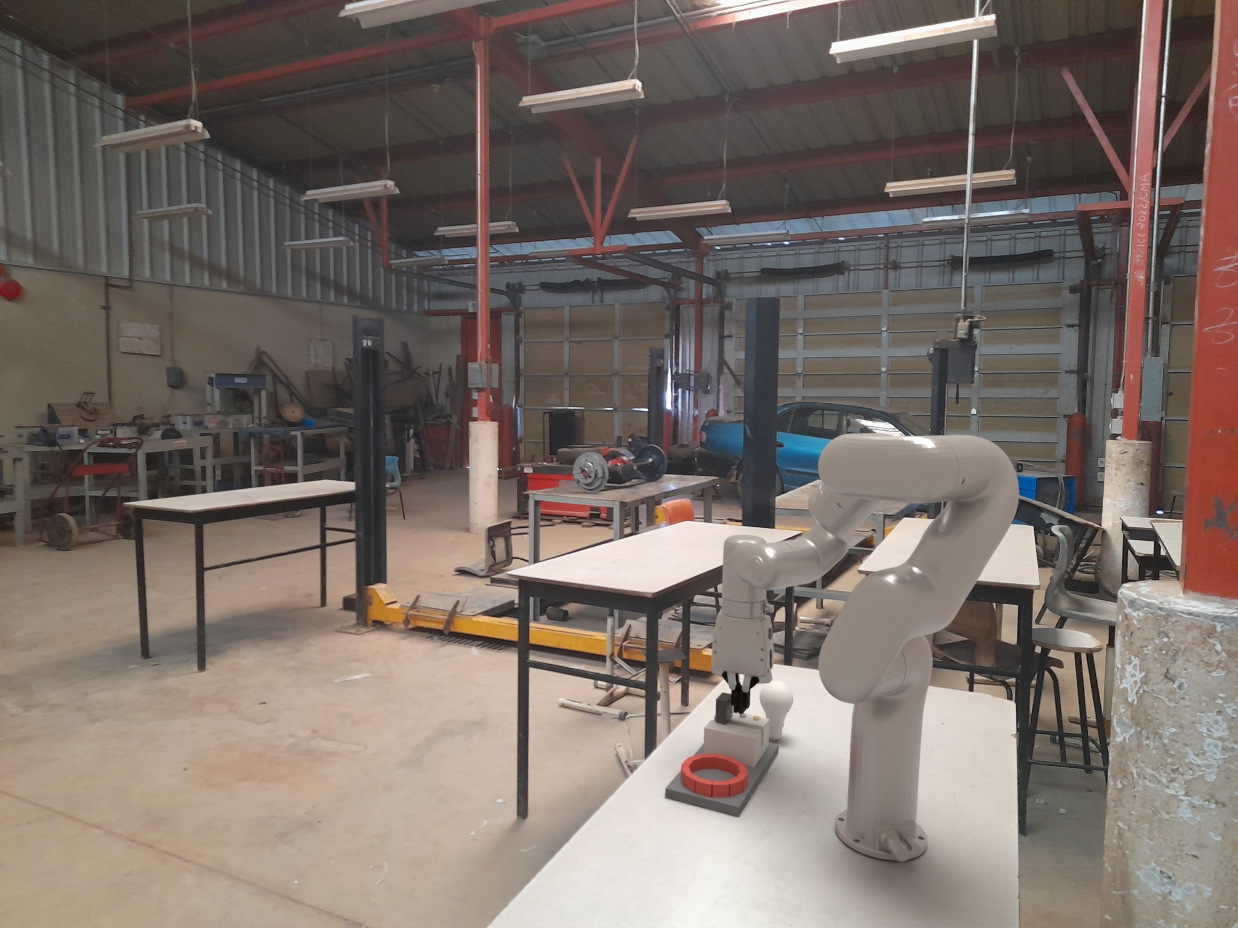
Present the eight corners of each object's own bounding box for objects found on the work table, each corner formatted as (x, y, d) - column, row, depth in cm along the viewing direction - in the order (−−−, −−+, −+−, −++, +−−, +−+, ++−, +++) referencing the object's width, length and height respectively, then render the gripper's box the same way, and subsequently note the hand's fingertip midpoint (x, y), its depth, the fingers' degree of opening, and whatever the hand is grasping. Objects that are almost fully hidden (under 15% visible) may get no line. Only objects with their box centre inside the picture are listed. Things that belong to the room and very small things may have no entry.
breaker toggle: (725, 742, 135) (727, 701, 135) (714, 739, 136) (715, 698, 136) (731, 734, 139) (733, 694, 138) (721, 732, 139) (722, 692, 139)
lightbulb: (789, 733, 148) (791, 677, 147) (793, 747, 141) (795, 689, 140) (756, 731, 148) (758, 675, 147) (759, 745, 142) (761, 687, 141)
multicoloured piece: (738, 816, 118) (740, 772, 117) (665, 797, 123) (666, 755, 122) (778, 752, 139) (780, 715, 139) (714, 738, 145) (715, 702, 144)
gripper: (792, 608, 134) (788, 711, 136) (709, 597, 141) (706, 695, 142) (780, 618, 128) (776, 727, 129) (695, 606, 134) (692, 710, 136)
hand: (740, 710), depth 136 cm, fingers closed
